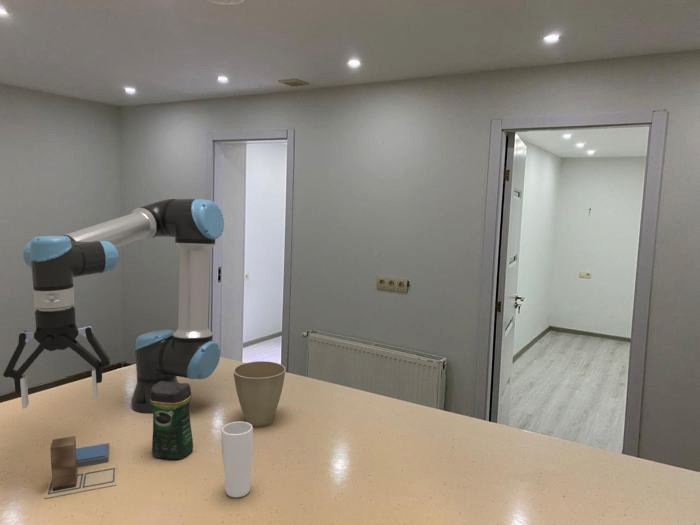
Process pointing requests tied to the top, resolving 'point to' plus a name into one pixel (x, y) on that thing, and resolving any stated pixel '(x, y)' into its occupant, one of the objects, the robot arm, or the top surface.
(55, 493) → the sheet
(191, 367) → the robot arm
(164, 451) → the coffee jar
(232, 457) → the drinking glass
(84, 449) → the ink pad
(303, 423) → the top surface
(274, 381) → the plant pot
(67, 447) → the tall wooden block
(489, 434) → the top surface
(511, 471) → the top surface
